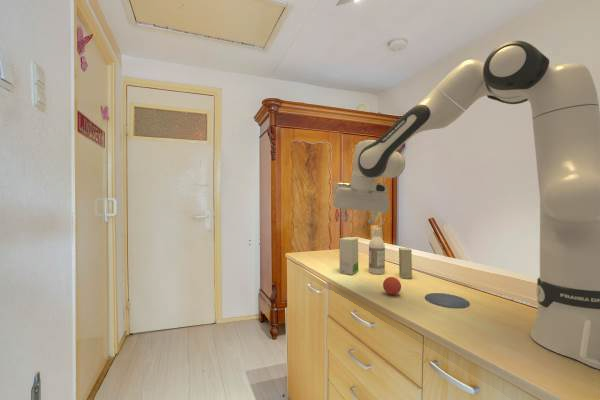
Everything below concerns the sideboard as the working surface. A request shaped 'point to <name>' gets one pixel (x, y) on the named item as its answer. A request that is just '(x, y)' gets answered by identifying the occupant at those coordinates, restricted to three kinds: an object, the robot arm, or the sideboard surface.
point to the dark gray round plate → (447, 300)
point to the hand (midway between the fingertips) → (358, 222)
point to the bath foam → (376, 254)
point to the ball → (392, 285)
